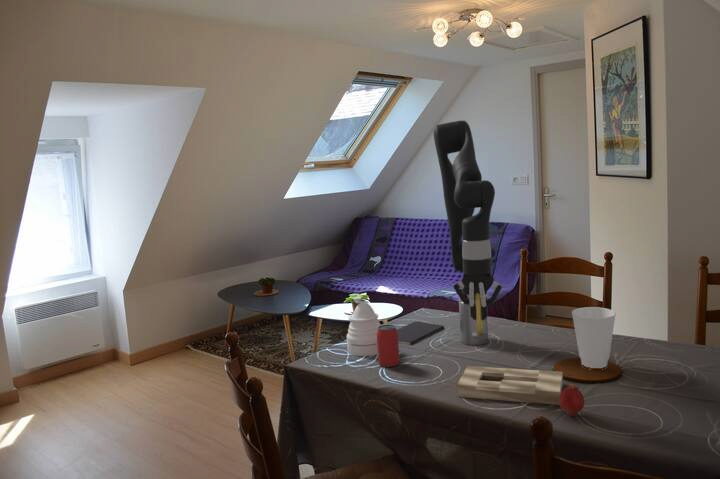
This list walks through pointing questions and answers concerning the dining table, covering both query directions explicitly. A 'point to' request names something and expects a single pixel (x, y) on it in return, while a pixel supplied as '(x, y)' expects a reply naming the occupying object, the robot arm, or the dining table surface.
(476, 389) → the keyhole board
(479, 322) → the headed peg
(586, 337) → the cup
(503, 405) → the dining table surface
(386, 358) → the beer can
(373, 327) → the honey pot
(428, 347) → the dining table surface
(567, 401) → the onion
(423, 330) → the notebook
